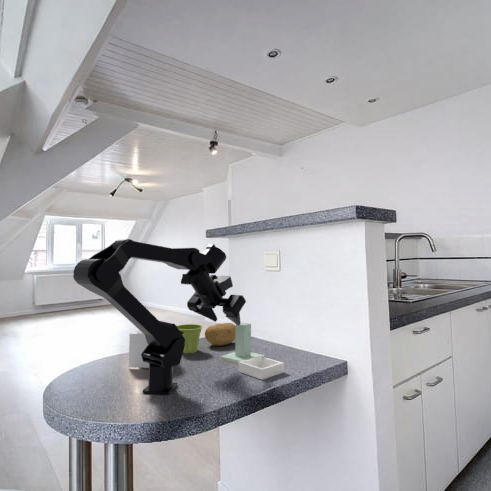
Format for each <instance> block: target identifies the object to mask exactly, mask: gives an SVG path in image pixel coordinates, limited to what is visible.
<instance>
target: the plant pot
mask: <svg viewBox="0 0 491 491" xmlns="http://www.w3.org/2000/svg"><path fill="white" fill-rule="evenodd" d="M176 326H177V328H178V329H179V330H180V331H181V332H184V333H183V334H182V335H183V336H184V338H185V347H184V351H183V354H194V353H197V352H198V349H199V345H200V344H199V343H200V338H201V332H202V329H203V325H201V324H197V323H195V324H194V323H187V324H186V323H185V324H178V325H176Z"/></svg>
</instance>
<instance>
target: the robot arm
mask: <svg viewBox="0 0 491 491" xmlns="http://www.w3.org/2000/svg"><path fill="white" fill-rule="evenodd" d="M131 259H137V260H142V261H149V262H154V263H155V262H157V263H163V264H165V265H167V266H168V267H170V268H174V269H176V270H187V272H186V273H182V277H181V280H180V285H190V286H191V287H192V289H193V290H194V292H193V294H192V295H191V297H190V298H189V299H188V300H187V303H186V306H187V309H188V310H189V311H192V312H193V313H195V314H199V315H201V316H203V317H204V318H207V319H208V320H210V321H213V322H217V321H218V317H217V315H216V312H215V311H214V309H215V308H216V307H222V312H223V314H224V315H225V317H226V318H227V319H229V320H230V321H231V323H233V324H234V325H236V324H237V325H240V323H242V321H241V316H240V312H241V310H242V309H243V307H244V305H245V304H246V303H247V300H246V299H245V296H244V295H241V294H230V296H228V298H226V297H225V296H226V295H227V291H228V290H229V289H231V288H233V287H234V286H233V281H232V278H231V276H230V275H216V273H217V271H218V270H219V269H220V268H221V267H222V265H223V264H224V263H225V261H226V259H227V254H226V252H224V251H223V250H222V249H221V248H220V247H217V246H216V245H215V244H214V243H213V244H211V243H209V244H208V245H207V246H206V247H205V249H204V250H203V252H200V249H198V248H196V247H180V248H179V247H175V248H174V247H172V248H170V247H167V246H162V245H155V244H151V243H146V242H140V241H135V240H133V239H129V238H125V239H117V240H115V241H114V242H112V243H111V244H109V246H107V247H105V248H104V249H102V250H100V251H97V253H94V254H93V255H92V256H91V257H89V258H88V259H87V258H85V259H82V260H80V261H78V262H77V264H76V265H75V266H74V269H73V275H72V277H73V280H74V281H75V283H77V284H78V285H79V286H81V287H82V288H84V289H86V290H87V291H89V292H91V293H93V294H95V295H98V296H100V297H102V298H104V299H105V300H106V301H107V302H109V303H110V304H111V305H112V306H113V307H114V308H115V309H116V310H118V312H119V313H120V314H121V315H123V316H124V318H126V319H127V320H128V321H129V322H130V323H131V324H133V325H134V326H135V327H136V328H137V329H138V330H140V331H141V332H142V333H143V334H144V335H145V337H146V341H147V343H148V346H147V347H146V348H145V350H144V351H143V352H142V354H141V357H142V360H143V362H147V363H149V368H148V385H147V386H145V388H144V389H142V393H144V394H146V393H147V394H156V395H157V394H158V395H170V394H171V393H172V392H173V391H174V389H175V388H176V387H178V382H173V379H174V367H175V366H179V365H181V360H182V357H183V354H184V353H183V351H184V347H185V338H184V336H183V335H182V334H183V333H184V332H181V331H180V330H179V329H178V328H177V326H178V325H177V324H175V323H174V322H167V321H164V320H159V319H157V317H156V316H155V315H153V313H152V312H151V311H149V309H147V307H146V306H145V305H143V303H141V302H140V300H138V298H136V296H135V295H133V294H132V292H130V290H128V289H127V287H125V285H124V282H123V279H122V276H121V273H120V272H121V271H122V270H123V269H124V268H125V267H126V265H127V264H128V262H129V260H131ZM161 354H162V355H164V357H162V356H160V355H161Z"/></svg>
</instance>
